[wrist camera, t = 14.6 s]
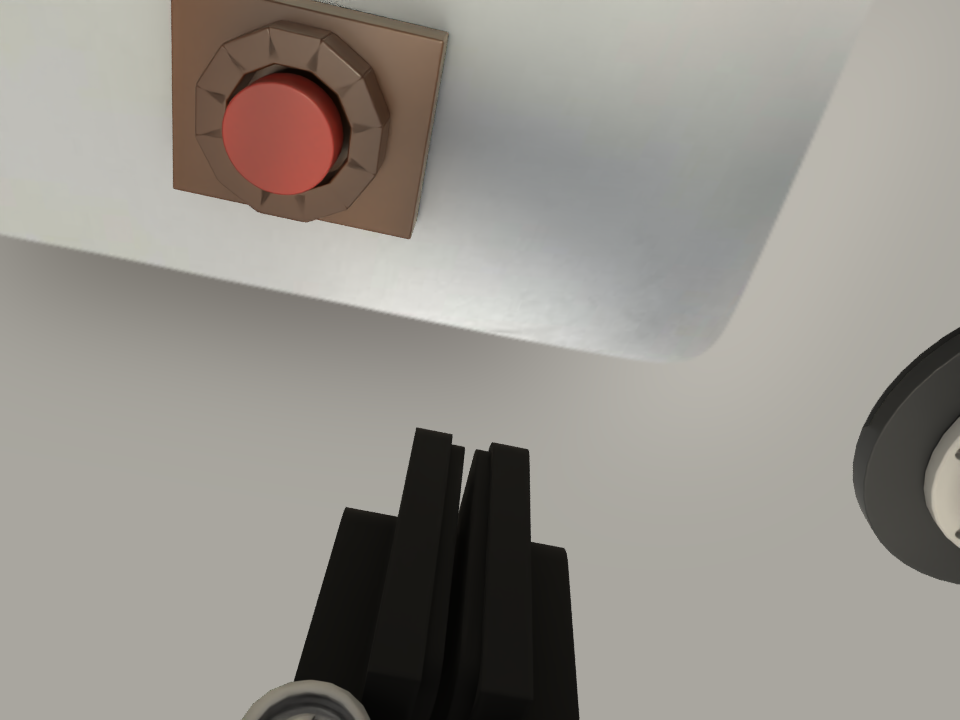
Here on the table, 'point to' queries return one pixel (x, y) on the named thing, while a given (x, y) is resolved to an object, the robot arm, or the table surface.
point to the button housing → (339, 72)
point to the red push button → (282, 133)
